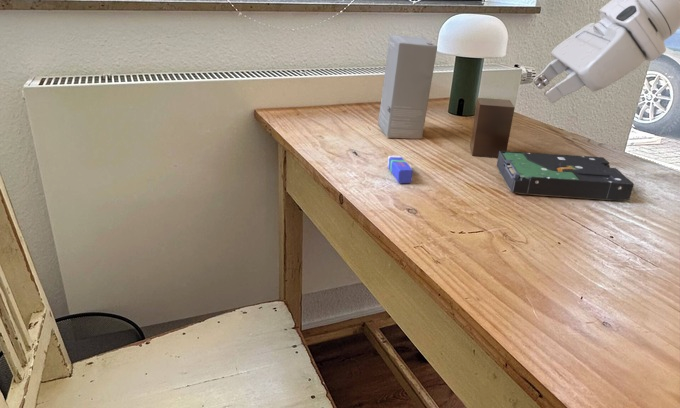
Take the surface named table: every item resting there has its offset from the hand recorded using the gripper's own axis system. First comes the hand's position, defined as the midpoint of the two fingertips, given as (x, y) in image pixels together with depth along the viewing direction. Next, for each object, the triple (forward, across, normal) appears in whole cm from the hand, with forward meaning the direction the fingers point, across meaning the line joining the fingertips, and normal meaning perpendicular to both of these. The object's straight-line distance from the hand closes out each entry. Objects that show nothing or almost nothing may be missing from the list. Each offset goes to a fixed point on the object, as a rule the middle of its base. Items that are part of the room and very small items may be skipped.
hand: (541, 91), depth 76 cm
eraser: (+21, +15, -6) cm, 27 cm away
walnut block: (+12, +1, +3) cm, 12 cm away
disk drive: (+6, +12, +9) cm, 16 cm away
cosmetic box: (+22, -6, -7) cm, 24 cm away
